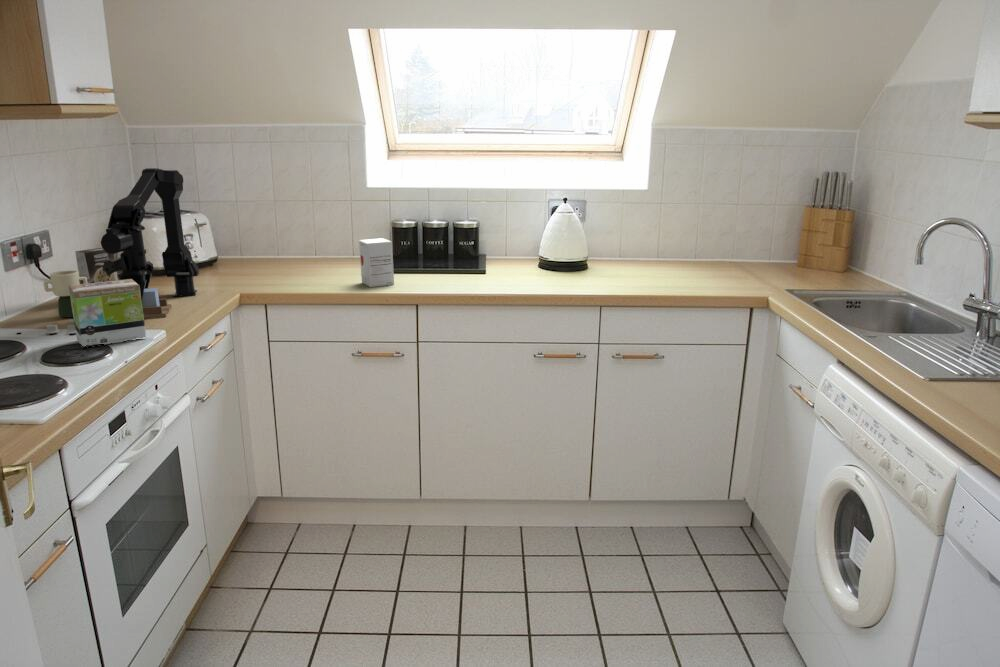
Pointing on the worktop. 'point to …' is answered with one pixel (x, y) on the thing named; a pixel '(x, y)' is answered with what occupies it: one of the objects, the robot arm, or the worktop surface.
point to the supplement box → (376, 262)
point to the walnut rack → (157, 310)
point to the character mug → (63, 289)
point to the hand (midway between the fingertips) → (141, 300)
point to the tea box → (107, 312)
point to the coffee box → (94, 265)
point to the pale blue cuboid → (150, 298)
